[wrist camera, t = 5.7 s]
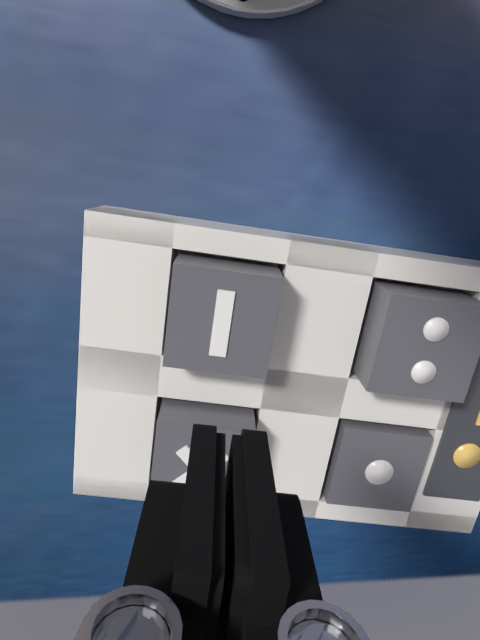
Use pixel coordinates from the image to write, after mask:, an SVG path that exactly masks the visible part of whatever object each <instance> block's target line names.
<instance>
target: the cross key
mask: <svg viewBox="0 0 480 640" xmlns="http://www.w3.org/2000/svg"><path fill="white" fill-rule="evenodd" d="M193 423H194V424H203V425H212V426H217V433H225V435H226V452H225V477H226V470H227V464H228V458H229V451H230V445H231V439H232V435H233V434H235V435H241V432H242V429H248V430H256V426H255V417H254V409H253V408H250V407H242V406H233V405H225V404H216V403H208V402H199V401H190V400H182V399H173V398H165V397H163V401H162V405H161V408H160V412H159V415H158V419H157V423H156V433H155V443H154V452H153V462H152V472H151V480H157V481H167V482H177V483H185V482H186V475H187V467H188V460H189V452H190V444H191V437H192V429H193Z"/></svg>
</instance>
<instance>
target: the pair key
mask: <svg viewBox="0 0 480 640" xmlns="http://www.w3.org/2000/svg"><path fill="white" fill-rule="evenodd" d="M479 356H480V300H478V299H476V298H474V297H472V296H470V295H468V294H466V293H464V292H459V291H452V290H445V289H438V288H431V287H424V286H417V285H410V284H403V283H395V282H388V281H381V280H374V279H373V280H372V284H371V288H370V293H369V297H368V301H367V305H366V309H365V313H364V317H363V321H362V325H361V330H360V334H359V338H358V342H357V346H356V350H355V354H354V358H353V363H352V367H351V368H352V370H353V371H354V373H355V375H356V376H357V378H358V379H359V381H360V382H361V384H362V385H363V387H364V388H365V390H366V391H367V392H375V393H383V394H391V395H399V396H408V397H416V398H424V399H432V400H440V401H448V402H457V403H464V400H465V397H466V395H467V392H468V389H469V386H470V383H471V380H472V377H473V374H474V371H475V368H476V365H477V362H478V359H479Z"/></svg>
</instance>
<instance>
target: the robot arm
mask: <svg viewBox="0 0 480 640" xmlns="http://www.w3.org/2000/svg"><path fill="white" fill-rule="evenodd" d="M197 1H199V2H201V3H203V4H205V5H207V6H209V7H211V8H213V9H216V10H218V11H220V12H222V13H226V14H230V15H234V16H238V17H242V18H248V19H273V18H278V17H283V16H288V15H292V14H297V13H299V12H301V11H303V10H306V9H308V8H310V7H312V6H315V5H317V4H319V3H321V2H322V1H324V0H247V1H246V2H241V1H239V0H197ZM225 452H226V435H225V433H217V426H212V425H203V424H194V423H193V429H192V437H191V444H190V452H189V460H188V467H187V475H186V482H185V483H177V482H167V481H157V480H150V482H149V485H148V489H147V493H146V497H145V501H144V505H143V509H142V513H141V517H140V521H139V525H138V529H137V533H136V537H135V541H134V545H133V548H132V552H131V556H130V560H129V564H128V568H127V572H126V576H125V580H124V584H123V587H121V588H118V589H116V590H113V591H111V592H109V593H107V594H105V595H104V596H103V597H102V598H100V599H99V600H98V601H97V602H96V603H95V604H93V606H92V607H91V609H90V610H89V612H88V613H87V614H86V616H85V617H84V619H83V621H82V624H81V625H80V628H79V629H78V631H77V634H76V636H75V638H74V640H370V639H369V638H368V636H367V634H366V632H365V631H364V629H363V627H362V626H361V625H360V624H359V623H358V622H357V621H356V620H355V619H354V618H353V617H352V616H351V615H350V614H349V613H348V612H346V611H344V610H343V609H341V608H340V607H338V606H336V605H334V604H331V603H328V602H325V601H323V600H322V595H321V591H320V586H319V582H318V578H317V573H316V569H315V564H314V560H313V556H312V551H311V547H310V542H309V538H308V534H307V529H306V525H305V520H304V516H303V512H302V507H301V503H300V500H299V497H298V496H297V494H287V493H277V492H276V487H275V481H274V475H273V468H272V462H271V456H270V450H269V443H268V437H267V432H266V431H257V430H248V429H242V432H241V435H235V434H233V435H232V439H231V445H230V451H229V458H228V464H227V470H226V477H225Z"/></svg>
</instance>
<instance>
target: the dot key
mask: <svg viewBox="0 0 480 640" xmlns="http://www.w3.org/2000/svg"><path fill="white" fill-rule="evenodd" d="M433 439H434V438H433V437H432V436H431V434H430V433H429V432H428V431H427V429H426V428H420V427H412V426H403V425H395V424H386V423H378V422H369V421H361V420H352V419H344V418H339V420H338V424H337V428H336V432H335V437H334V441H333V445H332V449H331V453H330V457H329V461H328V465H327V469H326V474H325V478H324V482H323V486H322V490H323V494H324V497H325V500H326V503H327V504H336V505H345V506H355V507H365V508H375V509H384V510H394V511H404V512H410V510H411V507H412V504H413V501H414V498H415V495H416V492H417V488H418V485H419V482H420V479H421V476H422V473H423V470H424V467H425V464H426V460H427V457H428V454H429V451H430V448H431V445H432V442H433Z"/></svg>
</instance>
